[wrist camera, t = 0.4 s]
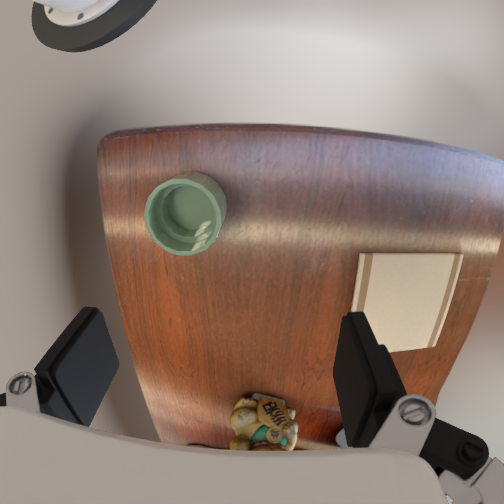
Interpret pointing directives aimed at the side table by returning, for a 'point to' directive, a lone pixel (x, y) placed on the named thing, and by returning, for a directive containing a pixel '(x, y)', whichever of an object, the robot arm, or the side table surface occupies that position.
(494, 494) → the robot arm
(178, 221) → the bowl
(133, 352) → the side table surface
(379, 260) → the cloth
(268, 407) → the decorative figurine
